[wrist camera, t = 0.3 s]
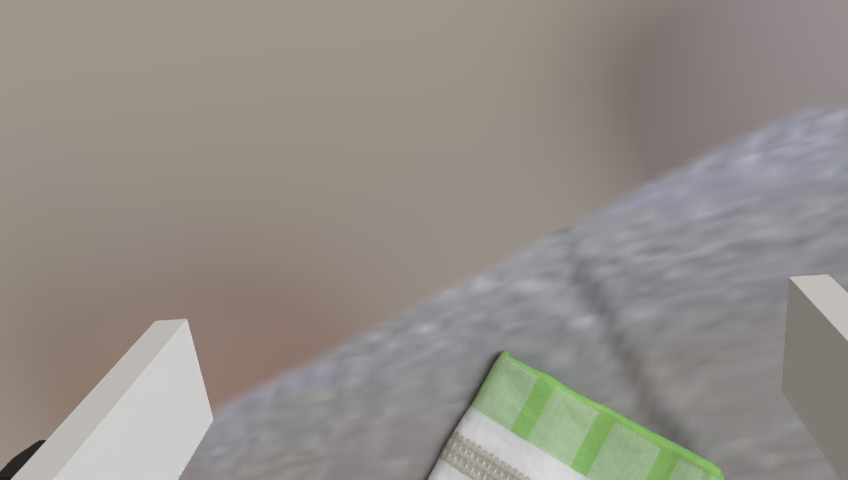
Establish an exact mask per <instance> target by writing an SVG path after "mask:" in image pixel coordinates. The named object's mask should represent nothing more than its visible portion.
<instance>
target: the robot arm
mask: <svg viewBox="0 0 848 480" xmlns="http://www.w3.org/2000/svg"><path fill="white" fill-rule="evenodd" d="M782 392H783V394H784V395H785V397H786V398H787V400H788V401H789V403H790V404H791V406H792V407H793V409H794V410H795V412H796V413H797V415H798V416H799V418H800V419H801V421H802V422H803V424H804V425H805V427H806V428H807V430H808V431H809V433H810V434H811V436H812V437H813V439H814V440H815V442H816V443H817V445H818V447H819V448H820V450H821V451H822V453H823V454H824V456H825V457H826V459H827V460H828V462H829V463H830V465H831V466H832V468H833V469H834V471H835V472H836V474H837V475H838V477H839V478H840V480H848V293H847V292H846V291H845V290H844V289H843V288H842V287H841V286H840V285H839V284H838V283H837V282H836V281H835V280H834V279H832V278H831V277H830V276H829V275H828V274H826V275H812V276H797V277H789V285H788V301H787V316H786V331H785V346H784V362H783V377H782ZM212 422H213V416H212V413H211V409H210V405H209V402H208V397H207V394H206V390H205V386H204V382H203V378H202V375H201V371H200V367H199V363H198V359H197V356H196V352H195V348H194V344H193V340H192V337H191V333H190V329H189V325H188V321H187V319H180V320H164V321H155V322H154V323H153V324H152V325H151V326H150V327H149V329H148V330H147V331H146V332H145V333H144V334H143V335H142V336H141V337H140V338H139V340H138V341H137V342H136V343H135V344H134V345H133V346H132V347H131V348H130V349H129V350H128V352H127V353H126V354H125V355H124V356H123V357H122V358H121V359H120V360H119V362H118V363H117V364H116V365H115V366H114V367H113V368H112V369H111V370H110V371H109V372H108V374H107V375H106V376H105V377H104V378H103V379H102V380H101V381H100V382H99V383H98V385H97V386H96V387H95V388H94V389H93V390H92V391H91V392H90V393H89V394H88V395H87V397H86V398H85V399H84V400H83V401H82V402H81V403H80V404H79V405H78V406H77V408H76V409H75V410H74V411H73V412H72V413H71V414H70V415H69V416H68V417H67V418H66V420H65V421H64V422H63V423H62V424H61V425H60V426H59V427H58V428H57V430H56V431H55V432H54V433H53V434H52V435H51V436H50V437H49V438H48V439H47V440H41V441H38V442H36V443H35V444H33V445H32V446H30V447H29V448H27V449H26V450H24V451H23V452H21V453H20V454H19V455H17V456H16V457H14V458H13V459H12V460H11V461H10V462H9V463H8V464H7V465H6V466H5V467H4V468H3V469H2V470H1V472H0V480H178V479H179V477H180V475H181V474H182V472H183V470H184V469H185V467H186V465H187V464H188V462H189V460H190V459H191V457H192V455H193V454H194V452H195V450H196V449H197V447H198V445H199V443H200V442H201V440H202V438H203V437H204V435H205V433H206V432H207V430H208V428H209V427H210V425H211V423H212Z"/></svg>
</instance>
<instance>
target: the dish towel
mask: <svg viewBox="0 0 848 480" xmlns="http://www.w3.org/2000/svg"><path fill="white" fill-rule="evenodd" d="M427 480H724V475H723V473H721V470H720V468H719V467H718V466H717V465H715V464H713V463H711V462H710V461H708V460H706V459H704V458H702V457H700V456H698V455H696V454H694V453H693V452H691V451H689V450H687V449H685V448H683V447H682V446H680V445H678V444H676V443H674V442H672V441H670V440H668V439H666V438H664V437H662V436H660V435H658V434H656V433H654V432H652V431H650V430H648V429H646V428H644V427H642V426H641V425H639V424H637V423H635V422H633V421H631V420H629V419H627V418H626V417H624V416H622V415H621V414H619V413H617V412H616V411H614V410H612V409H610V408H608V407H606V406H604V405H601V404H599V403H597V402H595V401H592V400H590V399H588V398H587V397H585V396H583V395H581V394H579V393H578V392H576V391H574V390H572V389H570V388H569V387H567V386H565V385H563V384H562V383H560V382H559V381H557V380H556V379H555V378H553V377H551V376H550V375H547V374H545V373H543V372H541V371H538V370H536V369H534V368H532V367H530V366H528V365H526V364H524V363H522V362H521V361H519V360H517V359H515V358H513V357H512V356H511V355H510V354H509V353H508V352H507V351H506V350H503V351H502V352H501V353H500V355H499V357H498V358H497V360H496V361H495V363H494V364H493V366H492V368H491V369H490V371H489V373H488V375H487V377H486V379H485V381H484V382H483V384H482V386H481V388H480V390H479V391H478V393H477V395H476V397H475V398H474V400H473V402H472V403H471V405H470V407H469V408H468V410H467V411H466V413H465V414H464V416H463V417H462V419H461V421H460V422H459V424H458V426H457V427H456V428H455V430H454V431H453V433H452V434H451V436H450V437H449V438H448V440H447V442H446V445H445V446H444V448H443V449H442V452H441V454H440V456H439V459H438V461H437V462H436V464H435V466H434V468H433V470H432V472H431V474H430V475H429V477H428V479H427Z"/></svg>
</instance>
